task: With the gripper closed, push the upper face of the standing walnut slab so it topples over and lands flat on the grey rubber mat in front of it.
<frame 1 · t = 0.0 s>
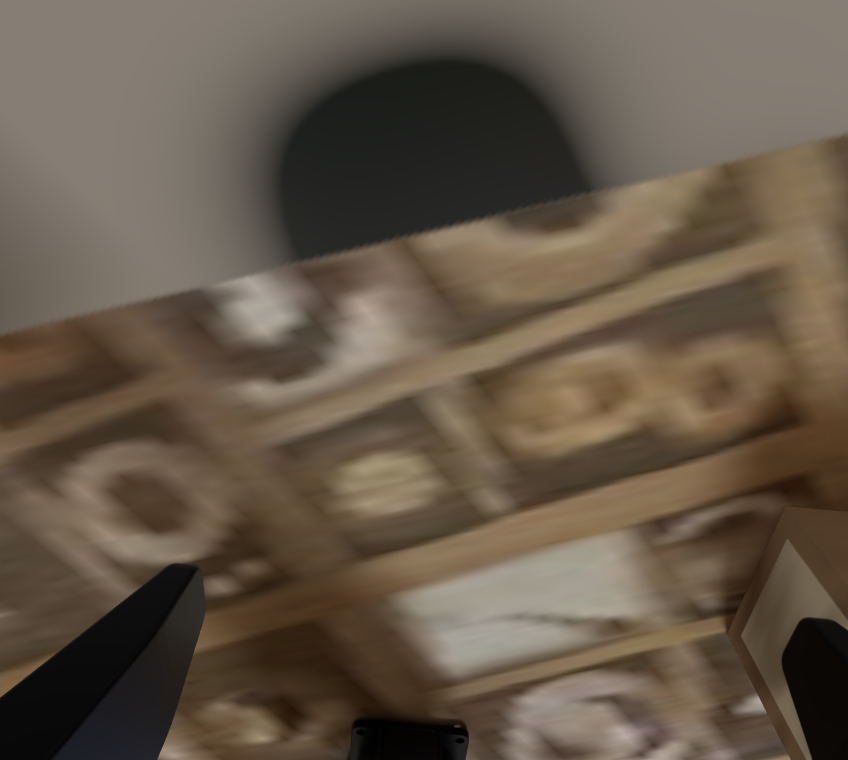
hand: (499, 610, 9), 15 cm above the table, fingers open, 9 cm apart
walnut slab: (796, 577, 28), on the table
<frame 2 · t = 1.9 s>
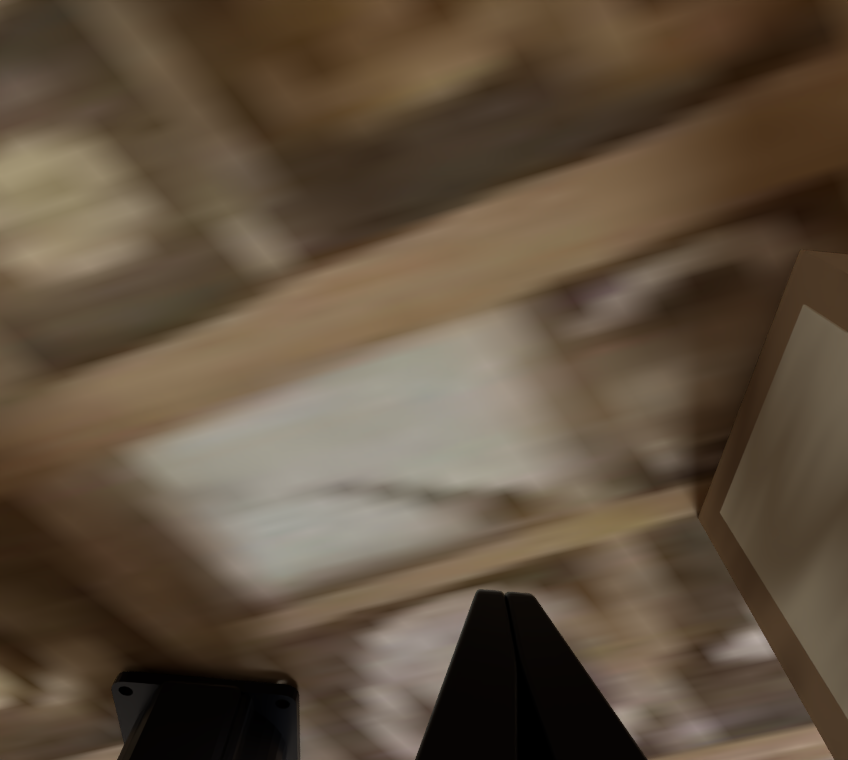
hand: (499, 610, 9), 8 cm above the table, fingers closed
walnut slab: (817, 405, 16), on the table
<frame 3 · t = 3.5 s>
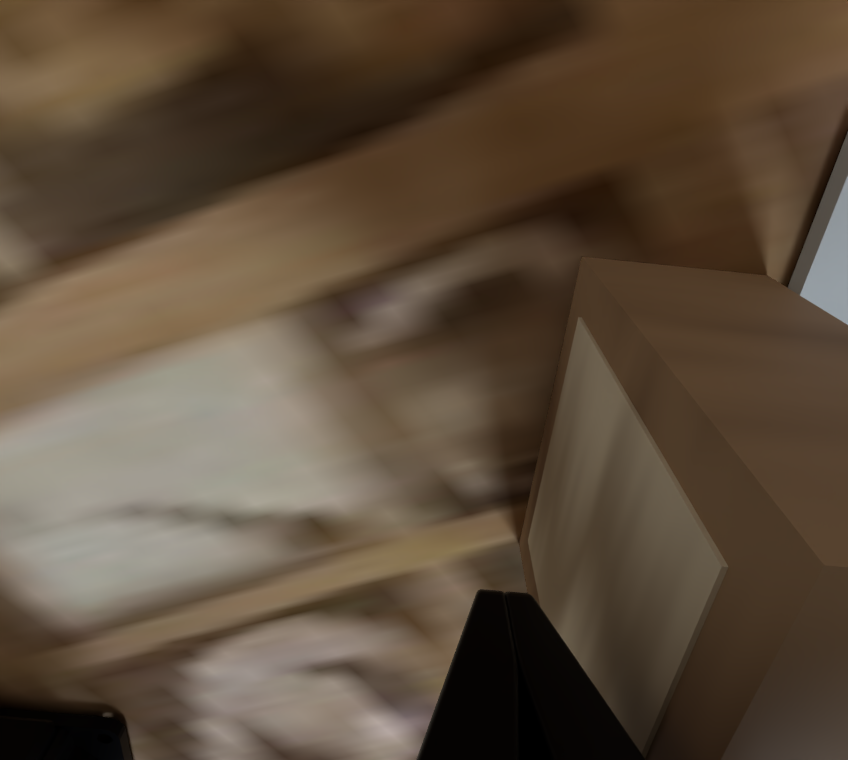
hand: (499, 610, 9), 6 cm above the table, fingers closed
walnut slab: (627, 425, 15), on the table, touching gripper
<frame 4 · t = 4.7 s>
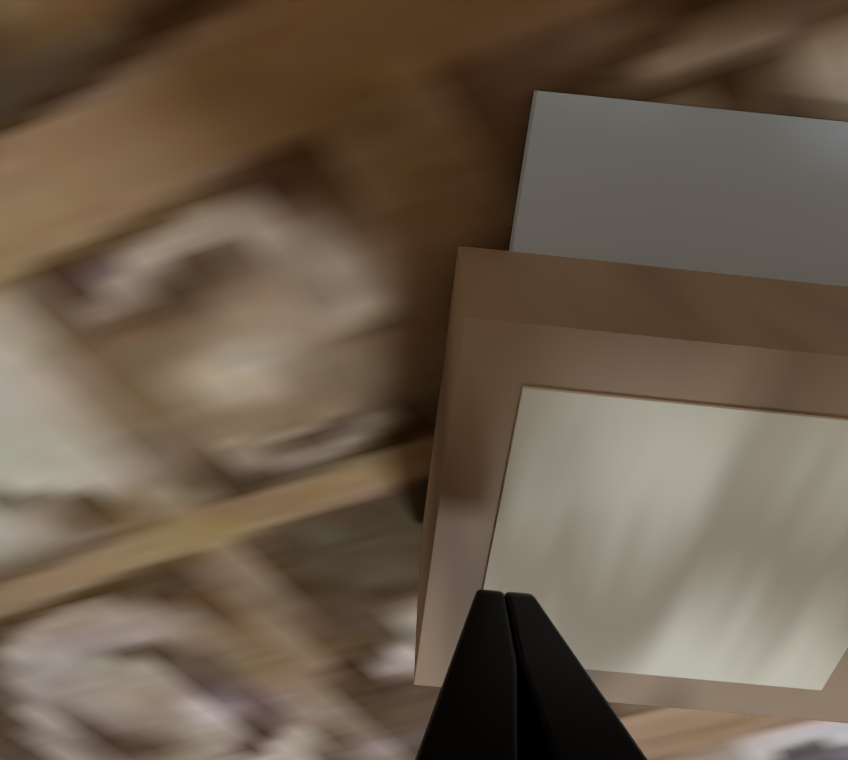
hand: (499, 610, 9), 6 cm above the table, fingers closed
rubber mat: (688, 430, 15), on the table
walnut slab: (436, 465, 12), point 2 cm above the table, tilted 90°, touching rubber mat
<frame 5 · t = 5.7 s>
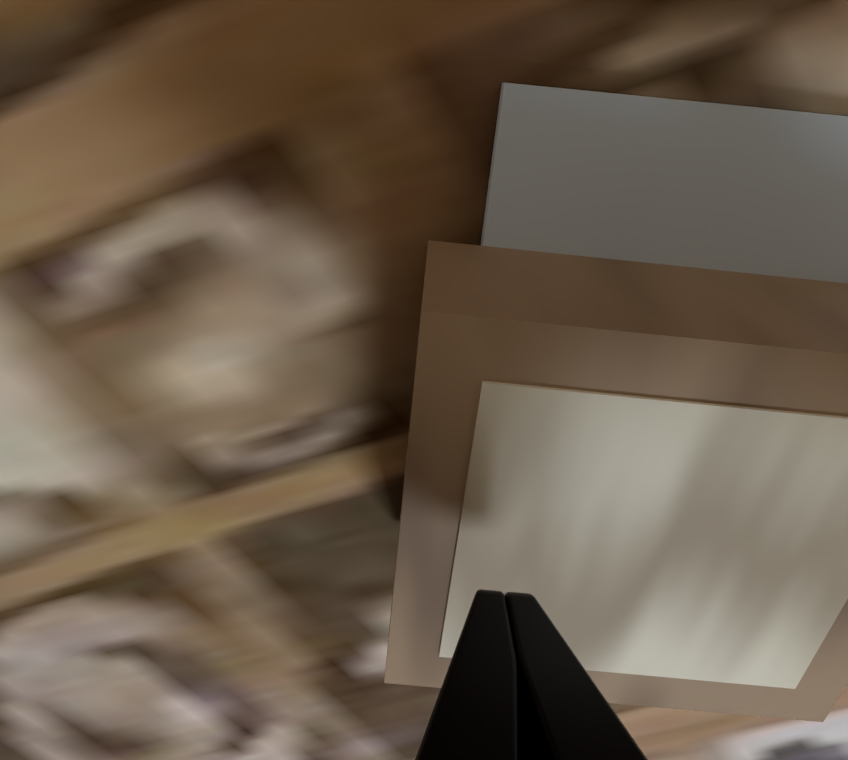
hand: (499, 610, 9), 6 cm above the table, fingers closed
rubber mat: (666, 427, 14), on the table
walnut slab: (406, 462, 12), point 2 cm above the table, tilted 90°, touching rubber mat
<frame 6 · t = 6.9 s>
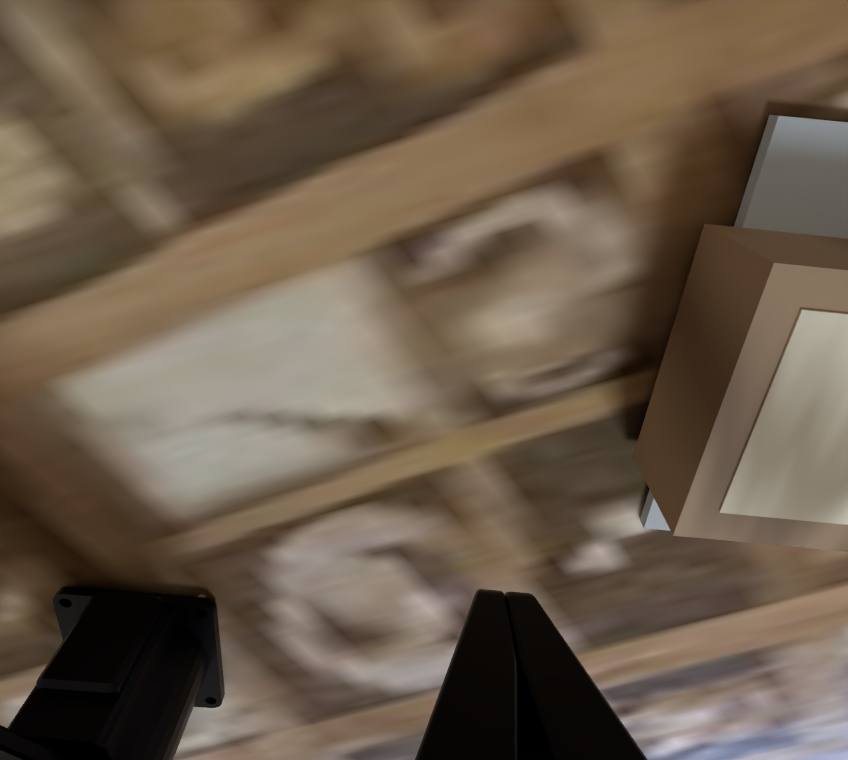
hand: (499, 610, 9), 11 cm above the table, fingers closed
rubber mat: (846, 363, 20), on the table
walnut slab: (688, 379, 17), point 2 cm above the table, tilted 90°, touching rubber mat
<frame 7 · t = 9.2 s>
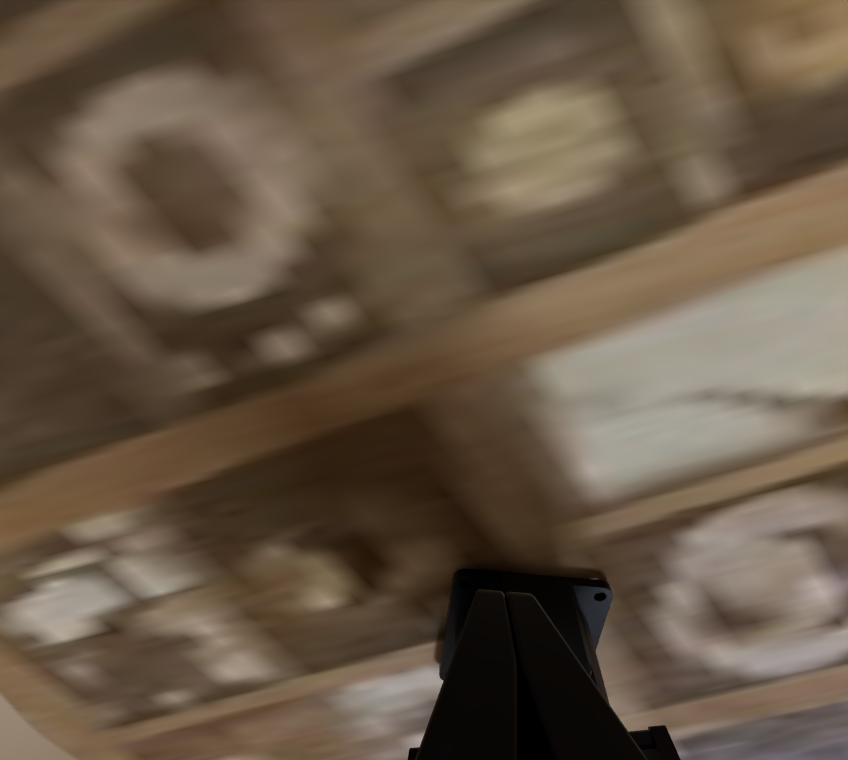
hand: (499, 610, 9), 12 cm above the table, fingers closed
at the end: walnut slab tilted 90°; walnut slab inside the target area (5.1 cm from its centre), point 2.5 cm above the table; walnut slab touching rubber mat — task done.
